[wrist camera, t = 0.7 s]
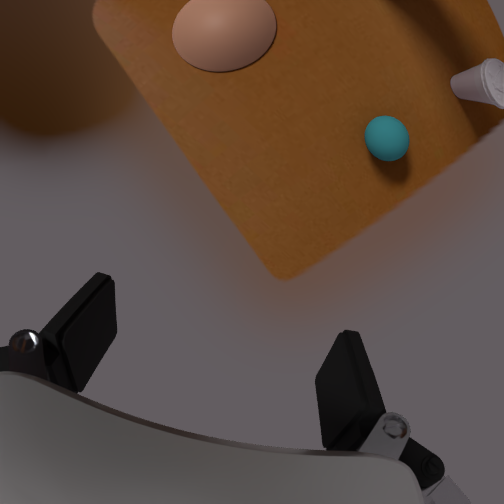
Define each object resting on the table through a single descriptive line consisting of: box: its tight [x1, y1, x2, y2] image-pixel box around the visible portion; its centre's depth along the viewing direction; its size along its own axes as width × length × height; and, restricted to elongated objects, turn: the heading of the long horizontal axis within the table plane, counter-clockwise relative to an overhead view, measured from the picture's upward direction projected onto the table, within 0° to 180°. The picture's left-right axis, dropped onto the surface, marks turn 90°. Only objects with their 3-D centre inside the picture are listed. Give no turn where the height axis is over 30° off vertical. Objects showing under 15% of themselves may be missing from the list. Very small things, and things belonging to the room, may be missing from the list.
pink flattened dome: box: [172, 0, 276, 72], centre depth 27 cm, size 13×13×1 cm
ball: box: [365, 116, 409, 161], centre depth 29 cm, size 6×6×6 cm
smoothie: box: [451, 58, 504, 109], centre depth 20 cm, size 6×6×14 cm
